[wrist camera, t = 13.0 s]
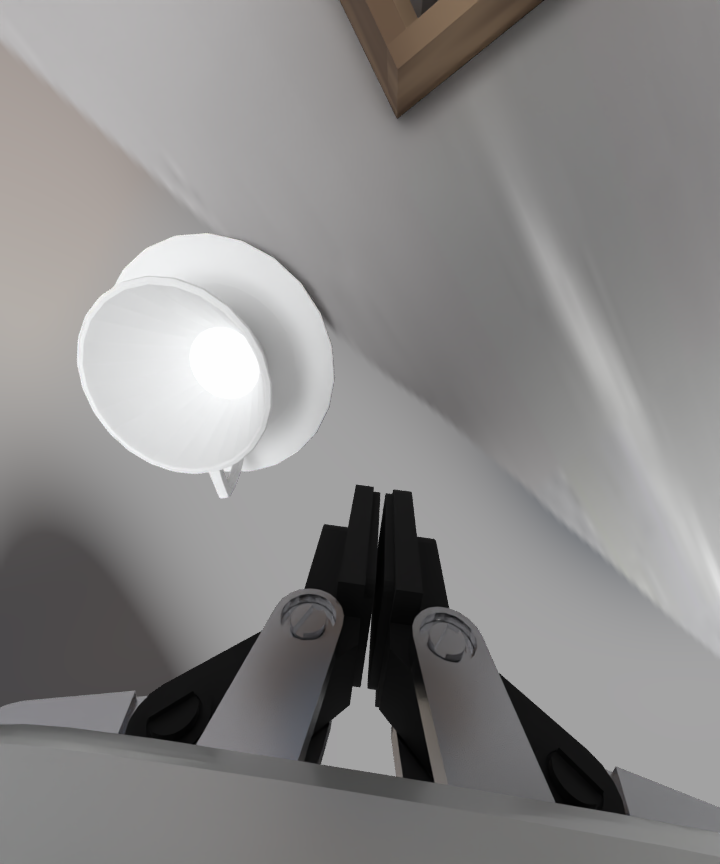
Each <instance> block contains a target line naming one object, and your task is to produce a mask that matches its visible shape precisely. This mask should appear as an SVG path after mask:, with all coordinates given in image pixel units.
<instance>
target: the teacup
mask: <svg viewBox="0 0 720 864" xmlns="http://www.w3.org/2000/svg"><path fill="white" fill-rule="evenodd" d="M77 366H78V370H79V375H80V379H81V384H82V388H83V391H84V393H85V395H86V397H87V399H88V401H89V403H90V406H91V408H92V410H93V412H94V413H95V415H96V416H97V417H98V419H99V420H100V421H101V423H102V424H103V425H104V427H105V428H106V430H107V431H108V432H109V433H110V434H111V435H112V436H113V437H114V438H115V439H116V440H117V441H118V442H120V443H121V444H122V445H123V446H124V447H125V448H126V449H127V450H129V451H130V452H132V453H133V454H135V455H137V456H138V457H140V458H142V459H143V460H145V461H147V462H148V463H150V464H153V465H156V466H159V467H162V468H164V469H167V470H170V471H173V472H182V473H192V474H199V473H207V472H208V473H209V474H210V476H211V479H212V481H213V483H214V486H215V488H216V491H217V493H218V496H219V498H227V497H229V496H231V494H232V492H233V490H234V488H235V486H236V484H237V481H238V479H239V476H240V473H241V471H242V472H244V471H255V470H259V469H262V468H266V467H270V466H273V465H277V464H279V463H280V462H282V461H283V460H285V459H287V458H289V457H290V456H292V455H294V454H295V453H297V452H299V451H300V450H301V449H302V448H303V446H304V445H305V444H306V443H307V442H308V441H309V440H310V439H311V438H312V437H313V436H314V435H315V434H316V433H317V431H318V429H319V427H320V425H321V423H322V421H323V419H324V417H325V415H326V413H327V411H328V409H329V406H330V401H331V395H332V390H333V385H334V379H335V375H334V363H333V352H332V344H331V341H330V338H329V336H328V332H327V330H326V327H325V324H324V321H323V318H322V315H321V313H320V311H319V310H318V308H317V307H316V305H315V303H314V302H313V300H312V299H311V297H310V296H309V294H308V293H307V291H306V290H305V288H304V286H303V285H302V283H301V282H300V281H299V280H297V279H296V278H295V277H294V276H293V275H292V274H291V273H290V272H289V271H288V270H287V269H286V268H285V267H284V266H282V265H281V264H280V263H279V262H278V261H277V260H276V259H275V258H274V257H272V256H270V255H268V254H266V253H264V252H262V251H261V250H259V249H257V248H255V247H253V246H251V245H250V244H248V243H246V242H244V241H242V240H237V239H233V238H228V237H224V236H220V235H215V234H211V233H203V234H190V235H177V236H173V237H171V238H168V239H166V240H164V241H162V242H159V243H157V244H154V245H152V246H150V247H148V248H146V249H144V250H143V251H142V252H141V253H140V254H139V255H138V256H137V257H136V258H135V259H134V260H133V261H131V263H129V264H128V265H127V266H126V267H125V268H124V269H123V271H122V273H121V275H120V276H119V278H118V280H117V282H116V284H115V286H114V287H113V288H112V289H110V290H108V291H107V292H105V293H104V294H102V295H101V296H100V297H99V298H98V300H97V301H96V302H95V303H94V305H93V306H92V307H91V309H90V310H89V311H88V313H87V314H86V316H85V318H84V321H83V325H82V327H81V330H80V333H79V336H78V349H77ZM224 472H230V474H229V476H228V478H227V479H226V477H225V473H224Z"/></svg>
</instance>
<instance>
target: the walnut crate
mask: <svg viewBox="0 0 720 864" xmlns="http://www.w3.org/2000/svg"><path fill="white" fill-rule="evenodd" d="M542 1H544V0H438V1H437V2H436V3H435V4H434V5H433V6H431V7H430V8H429V9H428V10H427V11H426V12H425V13H423V14H422V15H421V16H420V17H419V18H417V15H416V13H415V11H414V8H413V6H412V4H411V1H410V0H340V2H341V4H342V6H343V8H344V10H345V12H346V14H347V17H348V19H349V21H350V23H351V25H352V27H353V29H354V31H355V33H356V35H357V37H358V39H359V41H360V43H361V45H362V47H363V49H364V52H365V54H366V56H367V58H368V60H369V62H370V64H371V66H372V68H373V70H374V72H375V74H376V76H377V78H378V80H379V82H380V85H381V87H382V89H383V91H384V93H385V95H386V97H387V99H388V101H389V103H390V105H391V107H392V109H393V111H394V113H395V115H396V117H397V118H399V117H400V116H401V115H402V114H404V113H405V112H406V111H407V110H409V109H410V108H411V107H412V106H414V105H415V104H416V103H417V102H419V101H420V100H421V99H422V98H423V97H425V96H426V95H427V94H428V93H430V92H431V91H432V90H433V89H435V88H436V87H437V86H438V85H440V84H441V83H442V82H443V81H445V80H446V79H447V78H448V77H450V76H451V75H452V74H453V73H454V72H456V71H457V70H458V69H459V68H461V67H462V66H463V65H464V64H466V63H467V62H468V61H469V60H471V59H472V58H473V57H474V56H476V55H477V54H478V53H479V52H480V51H482V50H483V49H484V48H485V47H487V46H488V45H489V44H490V43H492V42H493V41H494V40H495V39H497V38H498V37H499V36H500V35H502V34H503V33H504V32H505V31H507V30H508V29H509V28H510V27H511V26H513V25H514V24H515V23H516V22H518V21H519V20H520V19H521V18H523V17H524V16H525V15H526V14H528V13H529V12H530V11H531V10H533V9H534V8H535V7H536V6H537V5H539V4H540V3H541V2H542Z"/></svg>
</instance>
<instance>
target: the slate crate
mask: <svg viewBox="0 0 720 864" xmlns="http://www.w3.org/2000/svg"><path fill="white" fill-rule="evenodd" d="M410 1H411V4H412V6H413V8H414V11H415V13H416V15H417V18H419V17H420V16H421V15H422V14H423V13H425V12H426V11H427V10H428V9H429V8H430V7H431V6H433V5H434V4H435V3H436V2H437V1H438V0H410Z"/></svg>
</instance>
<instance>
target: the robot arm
mask: <svg viewBox="0 0 720 864" xmlns="http://www.w3.org/2000/svg"><path fill="white" fill-rule="evenodd" d="M373 490H374V487H370V486H362V485H356V488H355V493H354V499H353V504H352V510H351V514H350V520H349V526H348V527H341V526H334V525H326V524H325V525H324V526H323V529H322V532H321V535H320V539H319V542H318V545H317V549H316V552H315V555H314V559H313V562H312V565H311V569H310V572H309V576H308V579H307V582H306V586H305V589H301V590H297V591H295V592H292V593H290V594H289V595H287V596H285V597H284V598H282V600H281V601H280V602H279V603H278V605H277V606H276V607H275V609H274V611H273V612H272V614H271V616H270V618H269V619H268V621H267V623H266V624H265V626H264V628H263V630H262V631H261V632H259V633H257V634H255V635H253V636H252V637H250V638H248V639H246V640H244V641H242V642H240V643H239V644H237V645H235V646H233V647H231V648H230V649H228V650H226V651H224V652H222V653H220V654H218V655H217V656H215V657H213V658H211V659H209V660H208V661H206V662H204V663H202V664H200V665H198V666H196V667H195V668H193V669H191V670H189V671H187V672H185V673H184V674H182V675H180V676H178V677H176V678H175V679H173V680H171V681H169V682H167V683H165V684H163V685H162V686H161V687H159V688H158V689H156V690H155V691H153V692H152V693H150V694H149V695H148V696H143V697H136V692H135V691H128V692H118V693H106V694H94V695H83V696H72V697H61V698H50V699H39V700H28V701H21V702H17V703H13V704H9V705H5V706H3V707H1V708H0V864H720V807H717V806H715V805H712V804H710V803H707V802H705V801H702V800H700V799H697V798H695V797H692V796H689V795H687V794H684V793H682V792H679V791H677V790H674V789H672V788H669V787H667V786H664V785H662V784H659V783H657V782H654V781H652V780H649V779H647V778H644V777H641V776H639V775H637V774H634V773H631V772H629V771H626V770H624V769H621V768H619V767H615V769H614V770H613V772H610V771H608V770H605V769H604V767H603V765H602V764H601V763H600V762H599V761H598V760H597V759H596V758H595V757H594V756H593V755H592V754H591V753H590V752H589V751H588V750H587V749H586V748H585V747H583V746H582V745H581V744H580V743H579V742H578V741H577V740H576V739H574V738H573V737H572V736H571V735H570V734H568V733H567V732H566V731H565V730H564V729H563V728H562V727H561V726H559V725H558V724H557V723H556V722H555V721H554V720H553V719H551V718H550V717H549V716H548V715H547V714H546V713H544V712H543V711H542V710H541V709H540V708H539V707H537V706H536V705H535V704H534V703H533V702H532V701H531V700H529V699H528V698H527V697H526V696H525V695H524V694H522V693H521V692H520V691H519V690H518V689H517V688H516V687H514V686H513V685H512V684H511V683H510V682H509V681H508V680H506V679H505V678H504V677H503V676H502V675H501V674H499V673H498V671H497V669H496V666H495V664H494V662H493V659H492V657H491V655H490V652H489V650H488V648H487V646H486V643H485V641H484V639H483V637H482V635H481V633H480V632H479V630H478V628H477V627H476V626H475V625H474V624H473V623H472V622H471V621H470V620H469V619H468V618H467V617H465V616H464V615H462V614H461V613H459V612H457V611H454V610H452V609H449V606H448V600H447V595H446V590H445V585H444V580H443V575H442V569H441V564H440V559H439V554H438V549H437V544H436V540H435V539H430V538H422V537H417V533H416V525H415V517H414V508H413V499H412V492H408V491H400V490H393V493H392V494H387V493H386V495H385V501H384V508H383V515H382V522H381V528H380V536H379V542H378V527H379V507H380V493H379V492H373ZM377 548H378V549H377ZM371 614H372V617H371ZM370 620H371V635H370V651H369V668H368V669H369V670H368V689H374V690H376V700H375V706H376V707H379V710H380V711H381V712H382V714H383V715H384V716H385V717H386V719H387V720H388V721H389V723H390V724H391V725H392V727H391V740H392V747H393V756H394V762H395V770H396V777H395V776H388V775H382V774H376V773H370V772H364V771H358V770H351V769H345V768H339V767H332V766H326V765H321V762H322V758H323V755H324V751H325V747H326V744H327V740H328V737H329V733H330V729H331V722H332V719H333V718H334V717H336V716H337V715H338V714H339V713H340V712H342V711H343V710H344V709H345V708H346V707H348V706H349V705H350V699H351V692H352V686H354V687H360V686H361V680H362V673H363V667H364V660H365V653H366V647H367V640H368V633H369V627H370Z"/></svg>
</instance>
